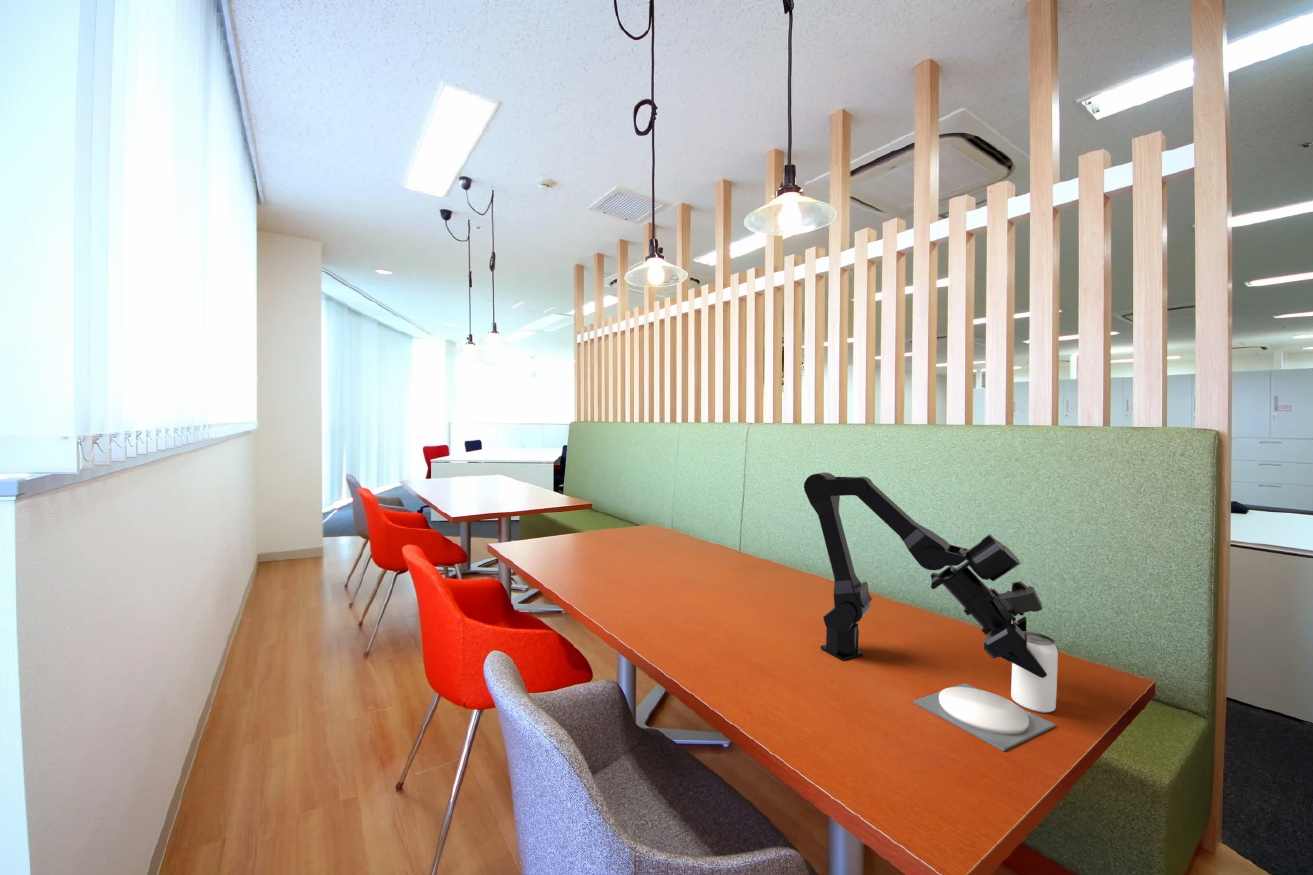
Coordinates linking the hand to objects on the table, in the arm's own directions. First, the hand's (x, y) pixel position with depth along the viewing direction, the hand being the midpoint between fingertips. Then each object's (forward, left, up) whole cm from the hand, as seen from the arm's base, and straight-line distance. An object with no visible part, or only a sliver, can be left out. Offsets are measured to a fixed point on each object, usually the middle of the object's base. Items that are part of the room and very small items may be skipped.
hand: (1044, 669), depth 90 cm
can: (-1, +1, -7) cm, 7 cm away
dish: (-13, +3, -7) cm, 15 cm away
